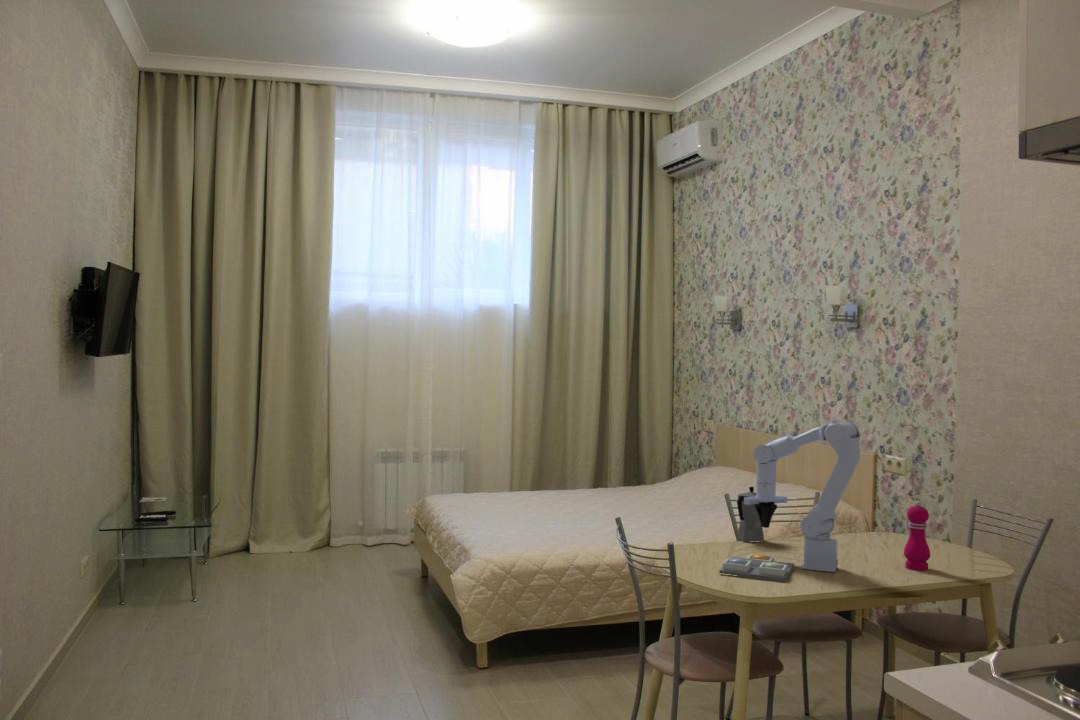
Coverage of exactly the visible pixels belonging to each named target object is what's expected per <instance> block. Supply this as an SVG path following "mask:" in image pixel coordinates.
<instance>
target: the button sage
mask: <svg viewBox="0 0 1080 720" xmlns="http://www.w3.org/2000/svg"><path fill="white" fill-rule="evenodd" d="M765 567H767V568H776V569H782V565H781V564H780V563H775V562H766V563H765Z"/></svg>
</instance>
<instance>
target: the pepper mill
mask: <svg viewBox="0 0 1080 720" xmlns="http://www.w3.org/2000/svg"><path fill="white" fill-rule="evenodd" d="M906 517H907V520H909V521H908V527H909V536H908V539H907V542H906V543H905V546H904V549H903V555H904V557H905V558H906V559H907V560H905V563H904V564H905V565H904V568H906V569H908V570H910V571H917V572H918V571H919V572H921V571H922V572H924V571H928V570H929V563H928V562H927V561H929V559H930V558H931V551H930V547H929V545H928V541H927V539H926V538H927V537H926V529H928V526H927V525H928V524H927V521H928V520H929V519H930V514H929V511H928V509H927V508H925V507H924V506H922V502H921V501H919V500H916V501H915V502H914V506H911V507H909V508H908V509H907V511H906Z"/></svg>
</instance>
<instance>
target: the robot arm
mask: <svg viewBox="0 0 1080 720" xmlns="http://www.w3.org/2000/svg"><path fill="white" fill-rule="evenodd" d="M861 437H862V434H861V433H860V430H859V429H858V426H857V425H856V424H855V423H854V422H851V421H844V422H831V423H829V424H822V425H820V426H819V425H818V426H817V427H814V428H813V429H810V430H807V431H805V432H804V433H800V434H799V435H795V436H793V434H792V435H791V434H787V433H784V434H781V435H780V438H776V439H774V440H773V439H770V440H768V441H767V443H760V444H758V445H757V446H756V447H755V448H754V450H753V458H754V459H755V461H756V486H755V487H756V491H755V493H756V496H754V497H747V498H744V504H746V505H750V504H754V506H755V508H756V510H757V512H758V515H759V518H760V522H761V527H762V528H763V529H765V528H766V529H768V528H769V527H770V524H771V521H772V519H773V516H774V513H775V512H776V510H777V509H778V504H787V503H788V496H785V495H776V486H777V482H776V481H777V479H776V478H777V462H778V460H780V459H783V458H785V457H788V456H790V455H791V456H792V455H793V454H796V453H797V452H798V451H799V448H800V447H803V446H805V445H808V444H811V443H814V442H817V441H823V442H826V441H827V443H828V444H829V445H830V446H831V447H832V448H833V450H834V451H835V452H836V454H837V457H838V458H837V461H836V463H835V465H834V468H833V470H832V471H831V474H830V476H829V477H828V479H827V481H826V483H825V486H824V488H823V490H822V493H821V495H820V497H819V499H818V500H817V503H816V504H815V505H814V507H812V508H811V510H810V511H809V512H808V514H807V515H806V516H805V517H803V518H802V519H801V522H800V530H801V533H802V535H804V538H803V539H804V540H803V541H804V543H803V547H804V548H803V550H804V551H803V563H802V564H801V566H800V568H801V570H802V569H804V570H811V571H812V570H813V571H822V572H829V573H835V572H836V570H837V568H838V565H839V558H838V550H839V549H838V540H837V539H832V538H831V533H832V532H833V530H834V528H835V520H836V518H837V513H836V509H837V507H838V505H839V502H840V501H841V499H842V497H843V494H844V493H845V490H846V488H847V486H848V484H849V482H850V480H851V478H852V475H853V474H854V472H855V470H856V468H857V466H858V464H859V462H860V459H861V448H860V446H861V445H860V441H861ZM762 501H764V502H762Z"/></svg>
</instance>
